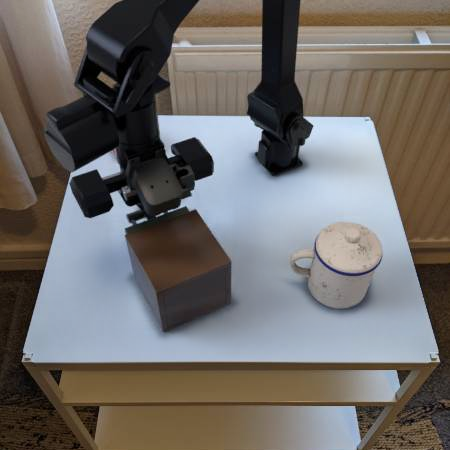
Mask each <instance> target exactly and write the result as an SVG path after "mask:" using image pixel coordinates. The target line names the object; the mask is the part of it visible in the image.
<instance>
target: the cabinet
mask: <svg viewBox="0 0 450 450" xmlns="http://www.w3.org/2000/svg"><path fill="white" fill-rule="evenodd" d="M124 239H125V243H126V248H127V251H128V256H129V260H130V264H131V268H132V269H131V270H132V272H133V273H132V274H133V277H134V280H135V282H136V284H137V286H138V288H139V290H140V291H141V293H142V296H143V297H144V299H145V301H146V303H147V304H148V306H149V308H150V310H151V312H152V314H153V316H154V318H155V319H156V322H157V323H158V325H159V327H160V328H161V331H162V332H163V333H166V332H167V331H170V330H172V329H174V328H176V327H179V326H181V325H183V324H186V323H189V322H190V321H193V320H195V319H197V318H199V317H202V316H204V315H206V314H209V313H211V312H214V311H216V310H218V309H220V308H224V307H225V306H227V305H230V304H231V298H232V297H231V296H232V295H231V294H232V265H233V263H232V260H231V258H230V257H229V256H228V254H227V252H226V251H225V250H224V248H223V246H221V244H220V242H219V240H218V239H217V238H216V236H215V235H214V233H213V232H212V230H211V229H210V227H209V226H208V224H207V223H206V222H205V220H204V219H203V217H202V215H201V214H200V213H199V212H198V210H197V209H196V208H195V209H192V210H189V212H186V213H184V214H181V215H178V216H176V217H173V218H170V219H167V220H165V221H162V222H159V223H157V224H154V225H151V226H148V227H146V228H143V229H140V230H137V231H135V232H132V233H129V234H127V235H126V234H124Z"/></svg>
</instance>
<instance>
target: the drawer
mask: <svg viewBox="0 0 450 450" xmlns="http://www.w3.org/2000/svg"><path fill="white" fill-rule="evenodd" d="M189 211H190V209H189V208H188V206H187V205H185V206H182V207H178V208H177V209H173V210H170V211H167V212H164V213H162V214H160V215H158V216H156V217H154V218H152V219H149V220H147V218H146V217H145V215H144V214H143V212H142V211H141V209H140V208H139V209H137V210H135V211H132V212H129V213H126V215H125V217H126V219H127V222H128V223H129V224H131V225H130V226H128V227H124V234H125V235H127V234H129V233H132V232H135V231H137V230H140V229H143V228H146V227H148V226H151V225H154V224H157V223H159V222H162V221H165V220H167V219H170V218H173V217H176V216H178V215H181V214H184V213H186V212H189ZM143 219H146V220H144V221H142V222H139V223H138V221H140V220H143Z"/></svg>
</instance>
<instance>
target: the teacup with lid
mask: <svg viewBox="0 0 450 450" xmlns="http://www.w3.org/2000/svg"><path fill="white" fill-rule="evenodd" d="M313 245H314V246H313V248H314V249H299V250H297V251H295V252H293V253H292V254H291V256H290V259H289V265H290V269H291V270H292V271H293V272H294V273H295V274H296V275H299V276H301V277H308V278H307V286H308V290H309V292H310V294H311V295H312V296H313V298H314V299H315V300H316V301H317V302H319V303H320V304H322V305H323V306H326V307H329V308H332V309H342V310H343V309H350V308H352V307H354V306H356V305H358V304H359V303H361V302H362V300H363V299H364V298H365V296H366V294H367V291H368V289H369V286H370V285H371V282H372V279H373V276H374V275H375V272H376V270H377V268H378V267H379V266H380V264H381V262H382V259H383V255H384V252H383V245H382V243H381V240H380V239H379V237H378V236H377V235H376V234H375V232H374V231H372V230H371V229H369V228H368V227H367V226H365V225H362V224H359V223H357V222H351V221H339V222H334V223H331V224H329V225H327V226H326V227H324V228H322V230H320V231H319V233H318V234H317V235H316V238H315V240H314V244H313ZM301 259H311V263H310V268H307V267H302V266H299V265H298V264H297V263H296V262H297V261H299V260H301Z"/></svg>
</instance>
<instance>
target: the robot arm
mask: <svg viewBox="0 0 450 450" xmlns="http://www.w3.org/2000/svg"><path fill="white" fill-rule="evenodd" d="M199 1H200V0H119V1H117V2H115V3H114V4H112V5H111V6H110V7H109V8H108V9H107V10H105V11H104V12H103V13H102V14H101V15H100V16H99V17H98V18H97V19H96V20H94V22H93V23H92V24H91V25H90V26H89V29H88V30H87V33H86V35H85V41H86V45H85V49H84V52H83V55H82V58H81V62H80V64H79V68H78V71H77V73H76V76H75V80H74V82H73V86H74V88H75V89H77V90H79V92H81V93H82V96H81V97H80V98H78V99H76V100H74V101H71V102H69V103H67V104H65V105H62V106H58V107H55V108H52V109H50V110H49V111H47V112H46V113H45V114H46V117H47V121H46V122H45V123H44V131H43V135H44V138H45V140H46V143H47V145H48V147H49V149H50V150H51V152H52V154H53V155H54V157H55V158H56V160H57V161H58V163H59V164H60V165H61V166H62V167H63V168H64V169H65V170H66V171H68V172H70V173H74V172H76V171H78V170H80V169H81V168H83V167H85V166H87V165H88V164H90V163H93V162H94V161H96V160H97V159H100V158H102V157H104V156H105V155H107V154H109V153H110V152H112V151H114V149H115V148H116V152H117V155H115V157H116V161H117V164H118V166H119V170H120V171H118V172H115V173H113V174H110V175H109V174H108V175H107V176H101V174H100V172H99V170H98V169H97V168H96V169H93V170H89V171H87V172H83V173H80V174H78V175H74V176H71V178H70V181H69V182H68V183H69V186H70V187H69V188H70V190H71V193H72V195H73V197H74V199H75V201H76V203H77V205H78V207H79V209H80V210H81V212H82V214H83V217H84V218H86V219H93V218H95V217H98V216H102V215H105V214H107V213H109V212H110V211H111V210H112V209H113V207H114V206H115V204H114V201H113V198H112V195H111V194H113V193H116V192H118V194H119V196H120V198H121V199H122V201H123V203H124V204H125V205H126V207H129V208H132V207H135V206H136V207H138V209H139V210H140V209H141V211H142V212H143V214H144V215H145V217H146V218H145V219H146V220H149V219H152V218H154V217H157V216H160V215H162V214H164V212H167V211H168V212H170V211H173V210H176V209H179V208H180V207H181V205H182V201H183V200H185V199H187V198H190V197H192V191H194V190H195V188H196V182H197V181H200V180H203V179H205V178H208V177H211V176H213V175H214V172H215V162H214V158H213V156H212V155H211V153H210V152H209V151H208V149H207V148H206V147H205V145H204V144H203V143H202V141H200V139H199V138H197V137H195V136H194V137H190V138H187V139H184V140H181V141H178V142H175V143H172V144H171V145H170V152H171V154H172V155H173V156H170V157H168V155H167V151H166V148H165V143H164V142H163V141H162V139H161V138H162V137H161V130H160V123H159V115H158V114H159V113H158V105H157V96H156V95H158V94H160V93H162V92H164V91H165V90H167V89H169V88H170V87H171V82H170V80H169V79H167V78H165V77H164V76H161V75H160V72H161V71H162V69H163V67H164V66H165V64H166V63H167V62H168V60H169V58H170V56H171V54H172V49H173V43H174V36H175V33H176V31H177V30H178V28H179V26H180V25H181V24H182V23H183V21H184V20H185V19H186V18H187V16H189V14H190V13H191V11H193V9H194V8H195V7H196V5H197V4H198V3H199ZM261 3H262V4H261V5H262V6H261V8H262V9H261V69H260V70H261V71H260V72H261V73H260V74H261V77H260V81H259V83H258V84H257V86H256V87H255V88H254V90H252V91H251V92H249V93H248V94H247V96H246V100H247V110H246V115H247V116H249V119H250V121H252V122H253V124H254V126H255V127H256V128H259V129H261V134H260V135H261V136H260V140H259V141H258V145H257V146H258V147H257V151H255V153H254V157H255V158H256V159H257V161H258V163H260V165H261V166H262V167H263V168H264V169H265V170H266V171H267V172H268V173H269V175H271V177H275V176H278V175H281V174H283V173H286V172H289V171H292V170H295V169H297V168H300V167H303V165H304V162H303V160H302V159H301V158H300V157H299V155H300V150H301V149H300V148H301V147H303V146H305V144H306V140H308V139H309V138H310V136H311V134H312V132H313V129H314V125H313V123H311V122H310V121H309V120H308V119H306V118H305V117H304V99H303V96H302V94H301V92H300V90H299V89H300V88H299V87H298V85H297V83H296V79H295V77H296V63H297V51H298V38H299V25H300V12H301V0H262V1H261ZM101 73H102V74H104V75H105V76H107V77H108V78H109V79H110V80H112V81H114V82H115V83H114V84H113V85H112V87H111V86H109V85H108V84H107V83H105V82H104V81H103V80H101V79H100V78H98V77H99V76H100V74H101Z"/></svg>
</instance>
